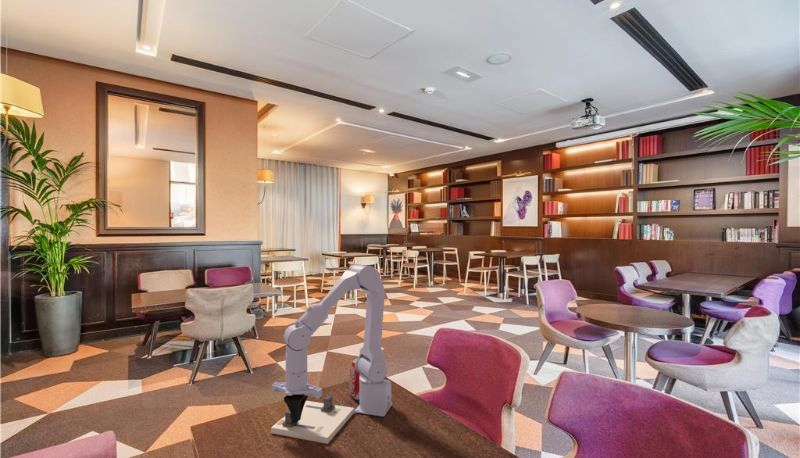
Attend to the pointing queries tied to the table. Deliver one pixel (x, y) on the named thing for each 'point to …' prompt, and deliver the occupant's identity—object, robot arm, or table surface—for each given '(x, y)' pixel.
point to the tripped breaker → (288, 420)
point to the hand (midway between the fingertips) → (296, 420)
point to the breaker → (328, 404)
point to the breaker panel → (315, 423)
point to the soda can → (354, 380)
